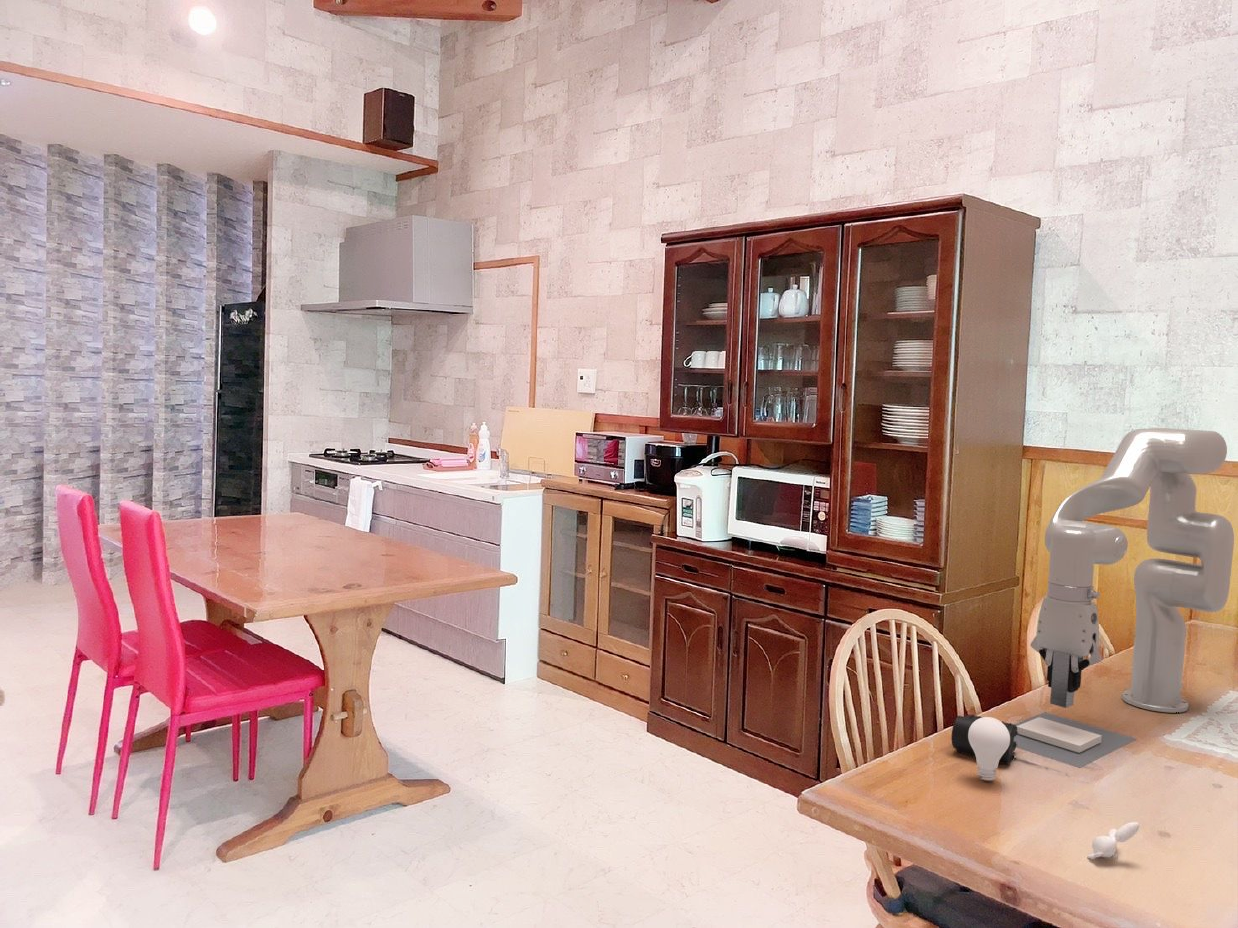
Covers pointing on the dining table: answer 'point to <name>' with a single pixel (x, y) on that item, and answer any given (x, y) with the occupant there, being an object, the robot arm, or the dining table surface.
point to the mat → (1107, 745)
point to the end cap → (962, 741)
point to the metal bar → (1061, 680)
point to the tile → (1059, 734)
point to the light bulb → (988, 745)
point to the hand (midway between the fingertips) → (1063, 687)
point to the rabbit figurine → (1113, 840)
